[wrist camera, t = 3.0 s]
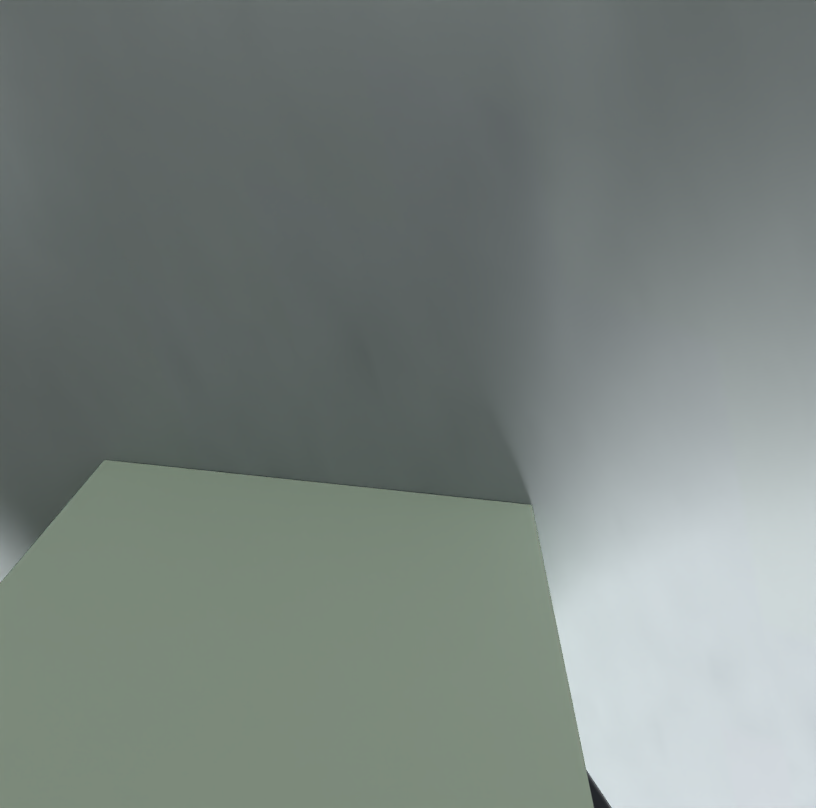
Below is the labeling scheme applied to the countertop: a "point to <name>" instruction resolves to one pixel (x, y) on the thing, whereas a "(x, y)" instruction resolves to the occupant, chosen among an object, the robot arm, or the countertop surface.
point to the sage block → (282, 651)
